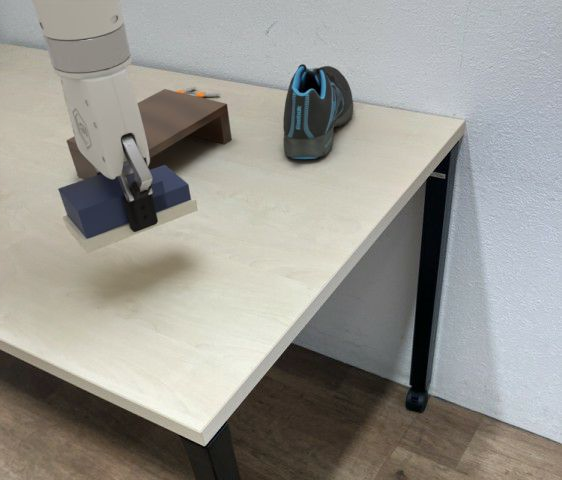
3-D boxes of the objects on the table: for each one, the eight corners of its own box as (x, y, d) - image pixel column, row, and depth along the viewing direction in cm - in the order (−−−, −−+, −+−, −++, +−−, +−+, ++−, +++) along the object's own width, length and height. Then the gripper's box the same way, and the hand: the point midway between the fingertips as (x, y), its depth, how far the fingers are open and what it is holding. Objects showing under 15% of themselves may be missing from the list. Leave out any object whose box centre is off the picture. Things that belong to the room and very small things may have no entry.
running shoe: (357, 95, 112) (359, 31, 104) (341, 165, 94) (341, 93, 86) (305, 95, 114) (303, 32, 106) (280, 163, 96) (274, 93, 88)
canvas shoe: (87, 253, 67) (73, 213, 64) (66, 227, 71) (52, 188, 67) (198, 210, 72) (191, 171, 69) (172, 188, 76) (165, 150, 72)
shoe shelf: (140, 198, 91) (130, 161, 87) (78, 176, 97) (66, 140, 93) (231, 139, 103) (227, 103, 98) (171, 123, 109) (164, 88, 105)
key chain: (158, 113, 112) (157, 109, 111) (146, 100, 116) (145, 96, 116) (222, 96, 115) (221, 92, 115) (207, 84, 120) (206, 80, 119)
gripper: (22, 35, 62) (74, 194, 75) (86, 85, 52) (133, 260, 65) (91, 18, 65) (129, 175, 78) (165, 63, 54) (195, 235, 67)
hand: (131, 212), depth 71 cm, fingers closed on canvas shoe, 6 cm apart
